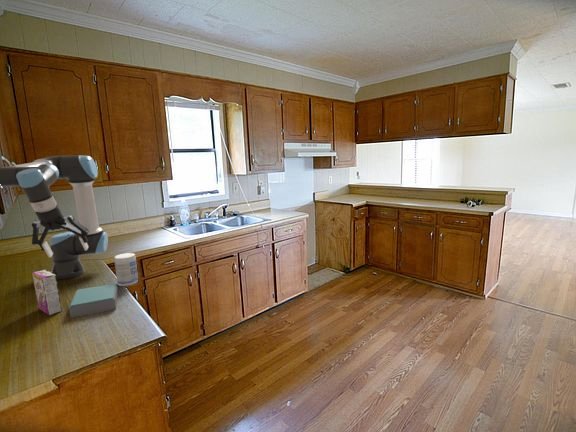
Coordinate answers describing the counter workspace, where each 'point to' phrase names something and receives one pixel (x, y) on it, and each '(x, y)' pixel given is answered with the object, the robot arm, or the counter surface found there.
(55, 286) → the candy bar box
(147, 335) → the counter surface
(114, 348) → the counter surface
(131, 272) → the supplement tub
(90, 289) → the block
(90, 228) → the robot arm
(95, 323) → the counter surface
